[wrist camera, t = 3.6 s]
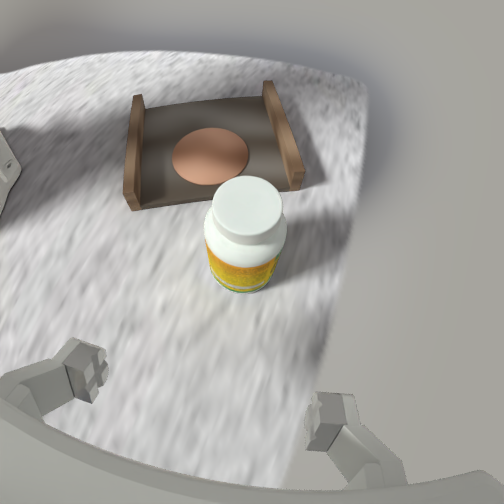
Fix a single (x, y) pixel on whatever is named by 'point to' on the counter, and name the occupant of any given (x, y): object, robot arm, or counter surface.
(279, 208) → the supplement bottle
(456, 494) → the robot arm
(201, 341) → the counter surface
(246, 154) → the walled bay
